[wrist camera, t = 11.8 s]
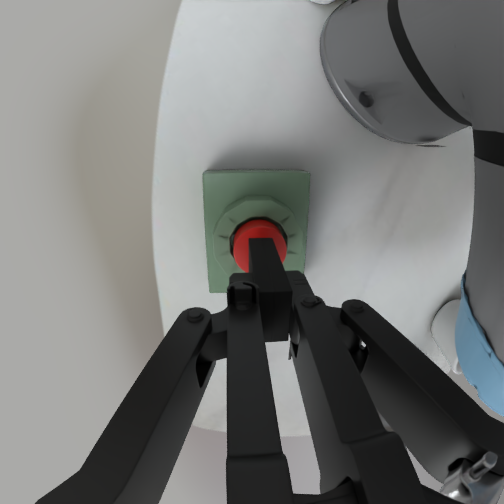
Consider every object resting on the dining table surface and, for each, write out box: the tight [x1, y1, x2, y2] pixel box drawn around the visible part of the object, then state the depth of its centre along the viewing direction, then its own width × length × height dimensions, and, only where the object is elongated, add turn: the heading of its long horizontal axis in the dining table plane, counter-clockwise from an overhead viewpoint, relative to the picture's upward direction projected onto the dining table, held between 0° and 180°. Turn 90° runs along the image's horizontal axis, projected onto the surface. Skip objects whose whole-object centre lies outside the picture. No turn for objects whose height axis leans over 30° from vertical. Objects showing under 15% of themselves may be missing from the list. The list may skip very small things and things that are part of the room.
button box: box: [203, 170, 310, 293], centre depth 21 cm, size 10×8×4 cm
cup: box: [431, 299, 463, 374], centre depth 26 cm, size 11×8×8 cm
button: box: [233, 219, 287, 273], centre depth 19 cm, size 4×4×2 cm
